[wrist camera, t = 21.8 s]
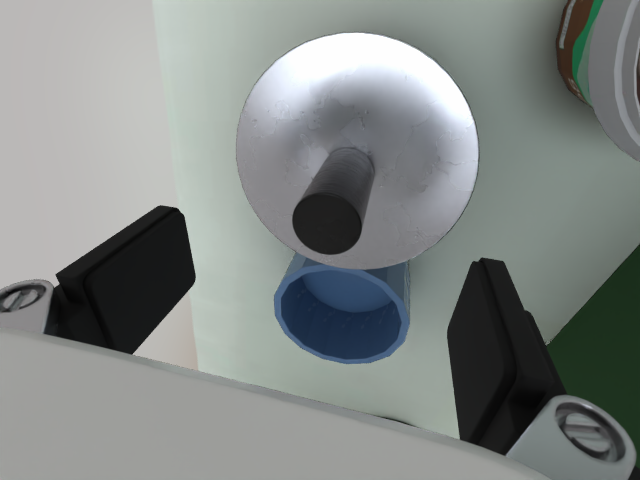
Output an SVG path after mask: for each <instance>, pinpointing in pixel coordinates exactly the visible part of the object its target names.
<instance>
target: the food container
mask: <svg viewBox="0 0 640 480" xmlns="http://www.w3.org/2000/svg"><path fill="white" fill-rule="evenodd" d="M556 51H557V64H558V70H559V72H560V74H561V76H562V78H563V80H564V82H565V84H566V86H567V88H568V90H570V91H571V92H572V93H573V94H574V95H576V96H577V97H578V98H579V99H581V100H582V101H583V102H585V103H586V104H588V105H589V106H591V107H592V108H594V111H595V115H596V117H597V119H598V120H599V122H600V124H601V126H602V128H603V129H604V131H605V133H606V134H607V135H608V136H609V138H610V139H611V140H612V141H613V142H614V143H615V144H616V145H617V146H618V147H619V148H620V149H621V150H622V151H624V152H625V153H627V154H628V155H630V156H631V157H632V158H634V159H635V160H637V161H639V162H640V0H568V2H567V4H566V6H565V8H564V10H563V14H562V18H561V22H560V26H559V31H558V35H557V39H556Z"/></svg>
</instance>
